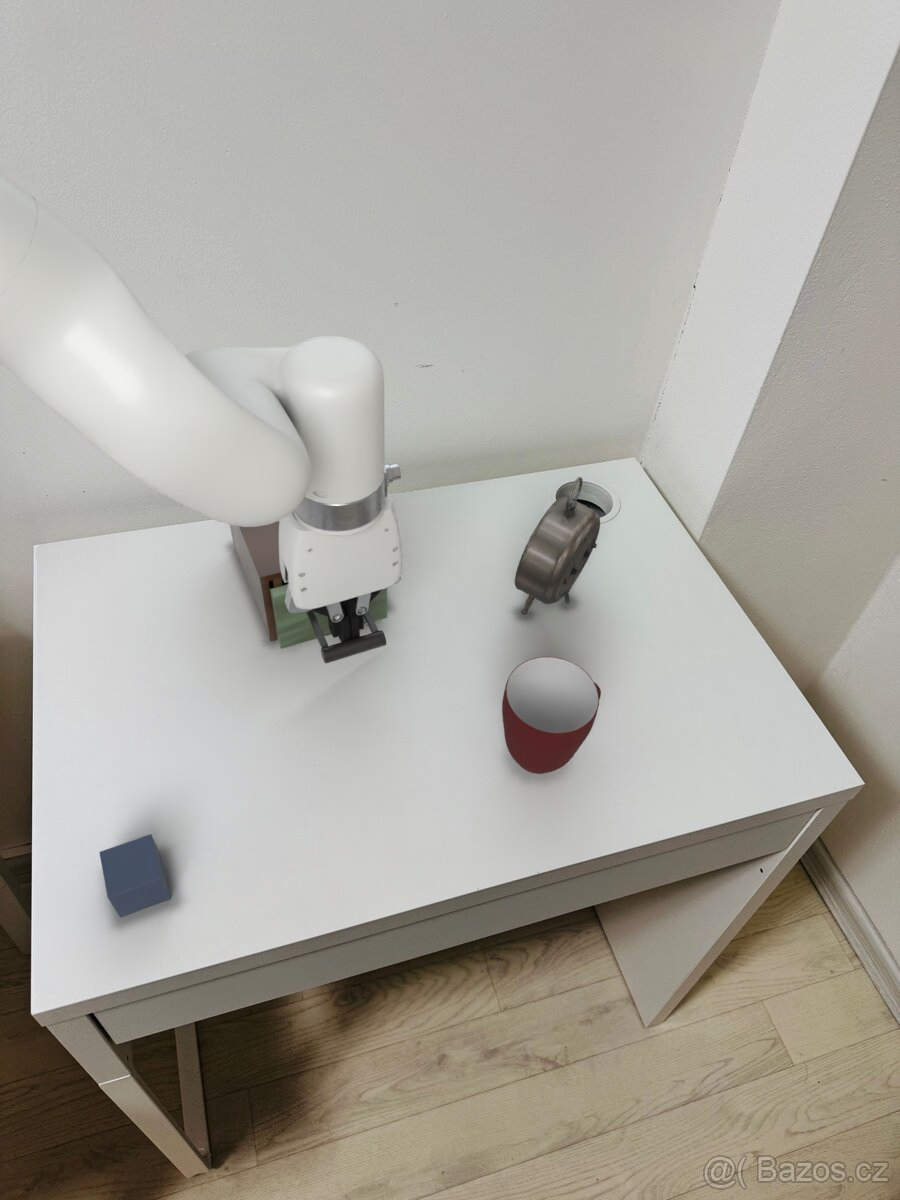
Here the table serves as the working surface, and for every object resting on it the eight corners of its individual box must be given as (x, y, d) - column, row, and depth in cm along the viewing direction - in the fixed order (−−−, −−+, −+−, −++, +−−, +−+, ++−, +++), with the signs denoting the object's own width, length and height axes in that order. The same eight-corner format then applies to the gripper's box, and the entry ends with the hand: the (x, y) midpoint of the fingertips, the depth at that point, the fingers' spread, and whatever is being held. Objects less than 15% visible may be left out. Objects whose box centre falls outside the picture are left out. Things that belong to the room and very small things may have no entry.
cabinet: (385, 608, 89) (385, 544, 82) (270, 641, 85) (259, 577, 78) (340, 520, 98) (337, 455, 91) (234, 547, 94) (221, 481, 87)
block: (120, 917, 66) (107, 898, 63) (111, 872, 69) (99, 851, 66) (171, 898, 68) (161, 878, 65) (161, 855, 70) (151, 833, 67)
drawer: (411, 665, 83) (413, 615, 78) (301, 701, 80) (294, 650, 74) (344, 533, 95) (341, 480, 89) (245, 558, 92) (235, 505, 86)
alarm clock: (553, 555, 96) (577, 441, 84) (595, 575, 94) (626, 462, 82) (505, 613, 90) (524, 500, 78) (549, 636, 88) (575, 524, 76)
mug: (549, 690, 83) (565, 626, 76) (613, 742, 80) (636, 680, 72) (475, 753, 78) (485, 691, 71) (540, 811, 75) (557, 752, 67)
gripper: (406, 442, 71) (403, 587, 85) (233, 483, 67) (259, 629, 80) (442, 497, 67) (433, 640, 81) (259, 545, 62) (282, 688, 76)
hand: (346, 634), depth 81 cm, fingers closed
